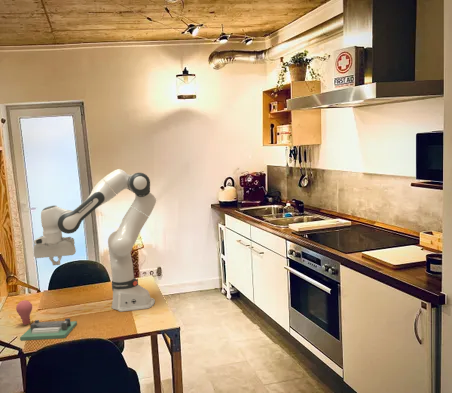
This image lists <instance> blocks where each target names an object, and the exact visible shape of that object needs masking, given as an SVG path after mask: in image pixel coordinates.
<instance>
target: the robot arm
mask: <svg viewBox="0 0 452 393" xmlns="http://www.w3.org/2000/svg"><path fill="white" fill-rule="evenodd" d="M126 189H127V190H129V191H130V192H131V193H133V194H134V195H135V197H134V199H133V202H132V203H131V205H130V207H129V208H128V210H127V211H126V213H125V214H124V216H123V218H122V220H121V223H120V224H119V226H118V229H117V230H116V231H113V232H112V233H111V234H110V235H109V236H108V239H107V244H108V246H107V247H108V253H109V261H110V268H111V277H112V278H111V289H112V303H111V308H112V309H113V310H117V311H118V312H129V311H137V310H138V311H139V310H146V309H150V308H152V307H154V305H155V303H156V301H155V298H153V297H151V295H150V292H149V290H148V289H146V288H145V287H143V286H141V285H140V284H139V278H135V274H134V264H133V259H132V254H131V253H132V251H133V247H134V246H135V244H136V242H137V239H138V237H139V235H140V234H141V231H142V229H143V228H144V225H145V224H146V223H147V221H148V219H149V217H150V215H151V214H152V212H153V210H154V208H155V205H156V203H157V202H156V201H157V198H156V196H155V195H154V194H153V193H151V180H150V178H149V176H148V175H147V174H146V173H144V172H135V173H132V174H128V173H127V172H126V171H125V170H124V169H121V168H118V169H114V170H113V171H111V172H109V173H108V174H107V175H105V176H103V177H102V179H100V180H99V181H98V182H97V183H96V184H95V186H93V187H92V190H91V192H90V194H89V196H87V198H86V199H85V201H84V200H83V202H82V203H80V205H78V206H77V207H76V208H75V209H73V210H69V209H66V208H62V207H59V206H57V205H50V206H46V207H44V208H43V209H42V210H41V213H40V219H41V220H40V222H41V227H42V230H43V231H42V235H41V236H40V237H38V238H35V239H34V241H33V244H34V245H33V257H34V258H35V259H41V258H48V259H49V261H50V262H51V263H52V266H60V265H61V261H62V259H63V257H65V256H66V257H67V256H68V257H69V256H73V255H75V254H76V251H77V248H76V246H75V239H74V238H73V237H72V236H67V237H66V236H64V237H63V233H64V234H70V235H71V234H73V233H75V232H77V230H78V229H79V228H80V226H81V223H82V222H83V221H84V220H85V218H87V217H88V216H89V215H91V213H93V212H94V211H95V210H96V209H97V208H99V207H101V206H102V205H104V204H106V203H107V202H109V201H110V200H112V199H113V198H115V197H116V196H117V195H118V194H119V193H121V192H122V191H124V190H126ZM56 257H57V259H58V260H57V261H55V259H54V258H56Z"/></svg>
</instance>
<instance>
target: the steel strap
mask: <svg viewBox="0 0 452 393" xmlns="http://www.w3.org/2000/svg"><path fill="white" fill-rule="evenodd" d="M62 322H67V324H68V323H69V321H68V320H66V321H65V320H55V321H39V322H35V321H34V322H32V323H31V324H35V327H41V326H59V325H62V324H61V323H62ZM30 328H31V326H30Z"/></svg>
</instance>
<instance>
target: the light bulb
mask: <svg viewBox="0 0 452 393" xmlns="http://www.w3.org/2000/svg"><path fill="white" fill-rule="evenodd" d="M15 309H16V312H17V314H18V315H19V317H20V319H21V321H22V324H23V325H26V326H27V325H29V324H30V323H31V316H30V315H31V313H32V310H33V304H32V303H31V301H29V300H25V299H23V300H21V301H19V302H18V303H17V305H16V308H15Z"/></svg>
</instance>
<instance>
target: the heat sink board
mask: <svg viewBox="0 0 452 393" xmlns="http://www.w3.org/2000/svg"><path fill="white" fill-rule="evenodd" d="M66 320H68V321H69V323H68V324H67V322H62V323H61V324H62V325H59V326H41V327H35V324H32V323H31V324H30V326H31V327H30V328H28V329H27V331H25V332H24V333H23V334H22V335H21V336H19V340H21V341H38V340H40V341H41V340H55V339H56V340H58V339H66V337H67V336H68V335H69V334H70V333H71V332H72V331H73V330H74V328H75V327H76V326H77V325H78V321H77V320H74V321H71V318H69V317H68V318H64V321H66ZM34 322H40V320H39V319H35V320H34Z"/></svg>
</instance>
